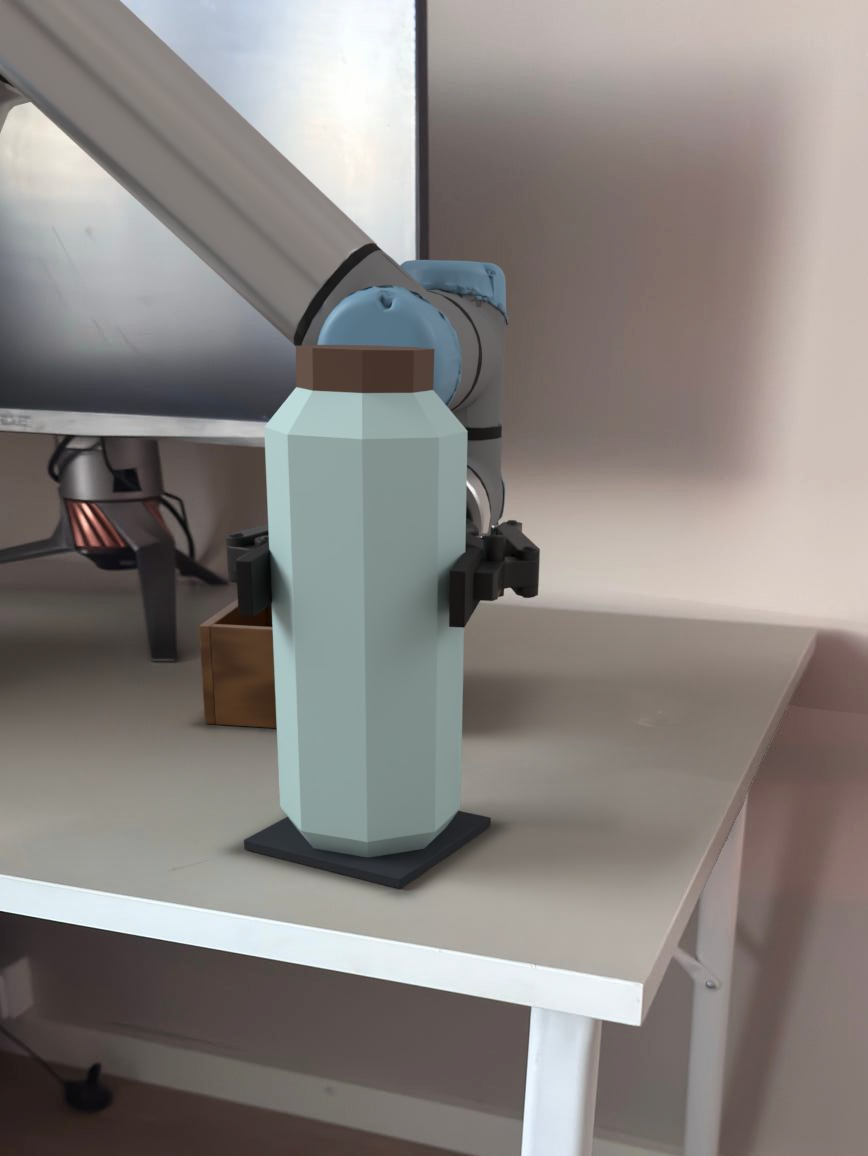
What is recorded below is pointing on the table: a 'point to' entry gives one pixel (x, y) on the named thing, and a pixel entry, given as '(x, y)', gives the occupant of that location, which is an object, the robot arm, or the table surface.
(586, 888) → the table surface
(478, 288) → the robot arm
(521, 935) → the table surface
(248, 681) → the wooden box
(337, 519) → the water bottle
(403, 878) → the mat
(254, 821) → the table surface
